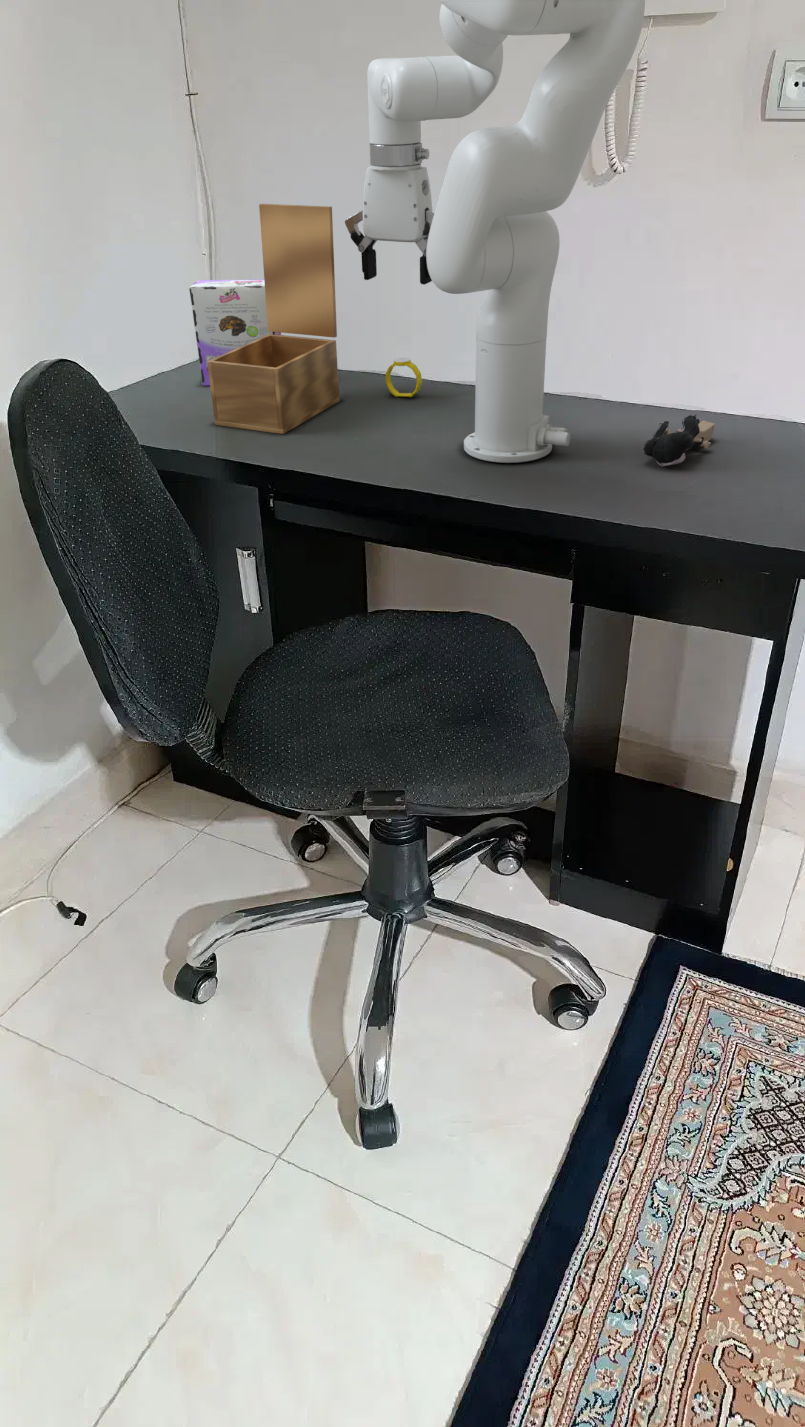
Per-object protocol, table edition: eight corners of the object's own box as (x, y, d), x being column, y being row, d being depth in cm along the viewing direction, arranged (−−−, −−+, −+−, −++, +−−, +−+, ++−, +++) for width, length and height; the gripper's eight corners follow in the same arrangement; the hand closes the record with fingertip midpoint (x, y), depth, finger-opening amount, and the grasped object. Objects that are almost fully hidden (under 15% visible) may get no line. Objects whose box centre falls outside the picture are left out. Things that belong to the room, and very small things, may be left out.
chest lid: (329, 207, 155) (346, 203, 159) (258, 204, 160) (276, 201, 164) (334, 337, 165) (350, 331, 169) (267, 331, 170) (284, 325, 174)
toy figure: (668, 436, 153) (635, 463, 142) (679, 394, 150) (646, 418, 138) (715, 449, 151) (686, 477, 139) (727, 406, 147) (698, 432, 136)
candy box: (286, 377, 184) (277, 277, 175) (279, 386, 179) (270, 284, 170) (209, 376, 185) (197, 278, 176) (201, 386, 180) (187, 285, 171)
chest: (283, 434, 157) (277, 369, 152) (214, 424, 162) (206, 361, 157) (339, 401, 171) (336, 340, 166) (274, 393, 176) (269, 333, 170)
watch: (424, 395, 172) (423, 359, 169) (417, 400, 170) (416, 363, 167) (391, 392, 174) (389, 356, 171) (384, 397, 172) (382, 360, 169)
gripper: (459, 155, 153) (458, 279, 162) (355, 152, 159) (359, 272, 169) (439, 161, 147) (439, 289, 157) (331, 158, 154) (337, 281, 163)
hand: (398, 280), depth 163 cm, fingers open, 9 cm apart
